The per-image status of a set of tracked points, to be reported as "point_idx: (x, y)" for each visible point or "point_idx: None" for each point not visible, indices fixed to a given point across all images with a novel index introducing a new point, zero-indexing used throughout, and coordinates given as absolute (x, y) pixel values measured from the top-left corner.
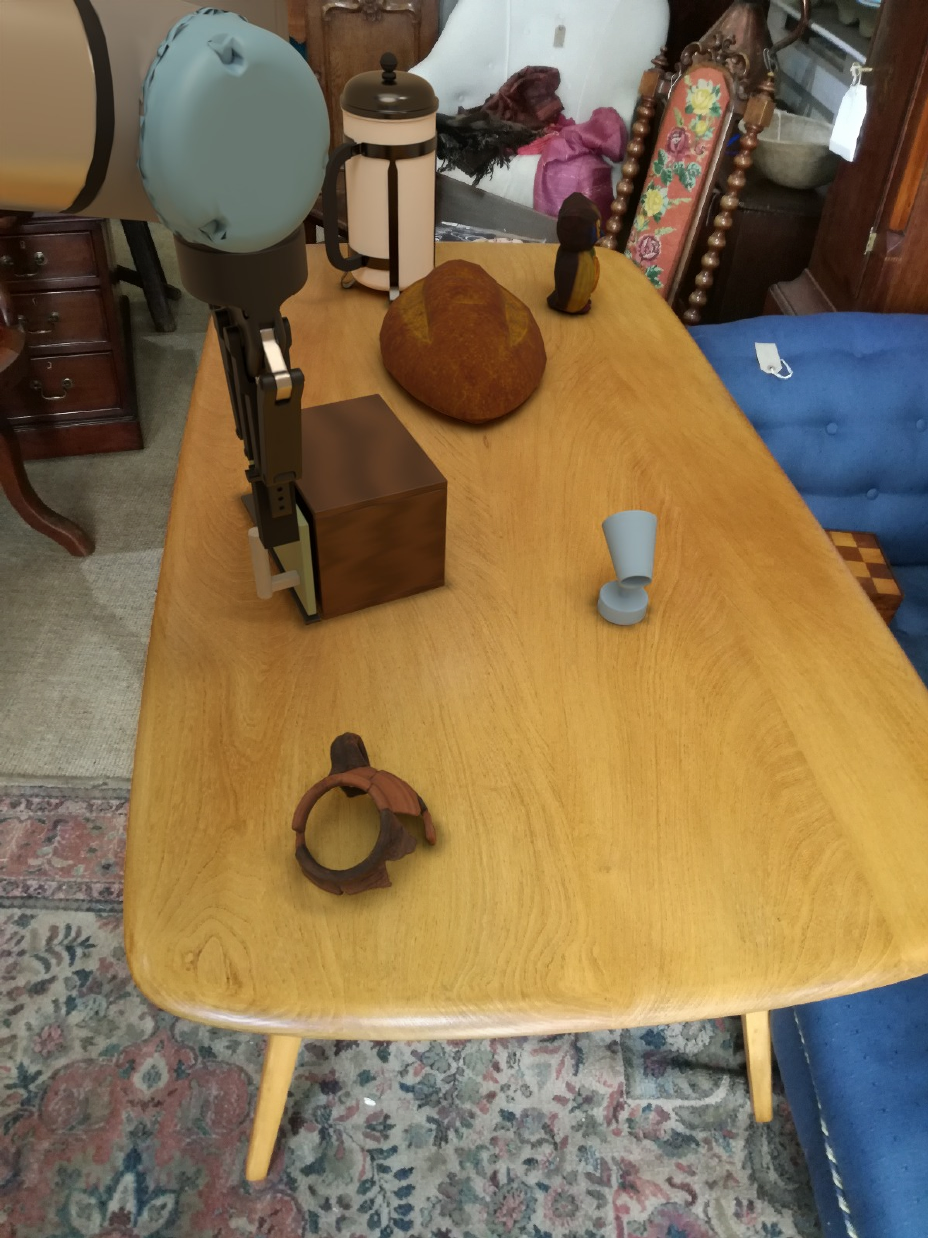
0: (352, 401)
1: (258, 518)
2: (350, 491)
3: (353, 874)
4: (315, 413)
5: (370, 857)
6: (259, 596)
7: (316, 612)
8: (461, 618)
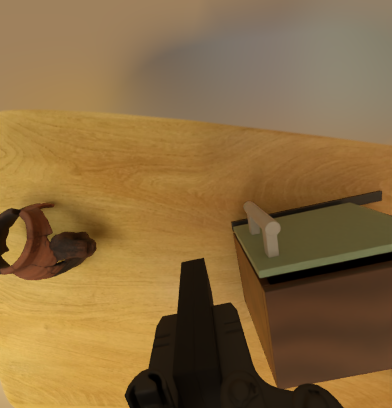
0: None
1: (192, 285)
2: (288, 323)
3: None
4: None
5: None
6: (246, 202)
7: None
8: (215, 303)
